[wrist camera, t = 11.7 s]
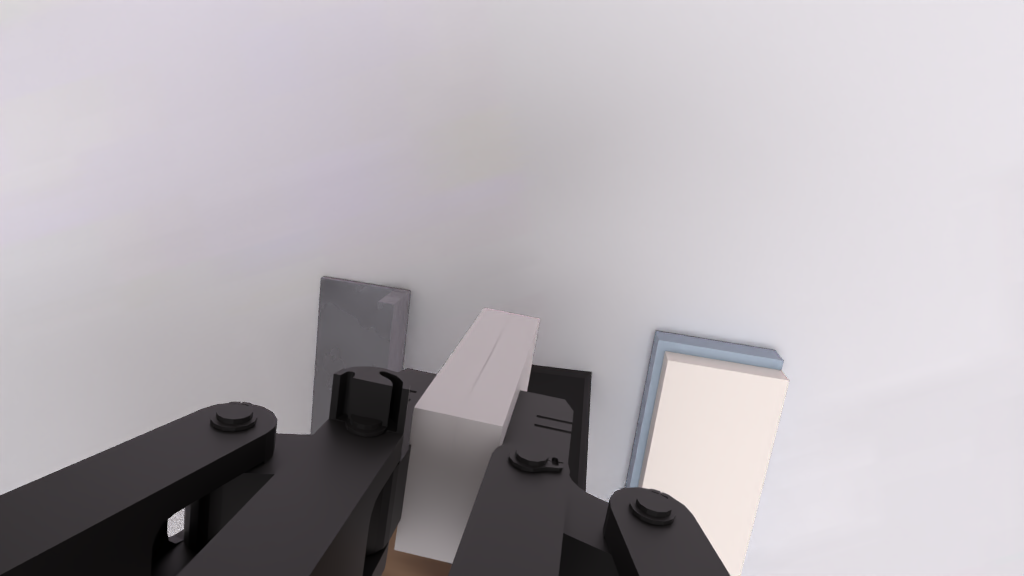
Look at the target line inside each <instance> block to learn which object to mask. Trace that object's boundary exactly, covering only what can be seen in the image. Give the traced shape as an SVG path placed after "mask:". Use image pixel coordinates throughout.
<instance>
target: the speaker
mask: <svg viewBox="0 0 1024 576" xmlns="http://www.w3.org/2000/svg"><path fill="white" fill-rule="evenodd" d="M527 392H531V393H536V394H541V395H546V396H550V397H555V398H560V399H565V400H566V401H567V403H568V404H569V406H570V407H571V408H572V410H573V411H574V412H573V421H572V430H571V440H570V449H569V458H568V465H569V469H570V474H569V476H570V478H571V479H572V481H573V482H574V483H575V484H576V485H577V486H578V487H579V488H581V489H582V490H584V491H585V492H586V472H587V452H588V432H589V412H590V392H591V372H584V371H576V370H567V369H559V368H551V367H543V366H534V365H532V367H531V372H530V377H529V383H528V388H527ZM446 563H448V562H446ZM449 564H451V565H452V563H449Z"/></svg>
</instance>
